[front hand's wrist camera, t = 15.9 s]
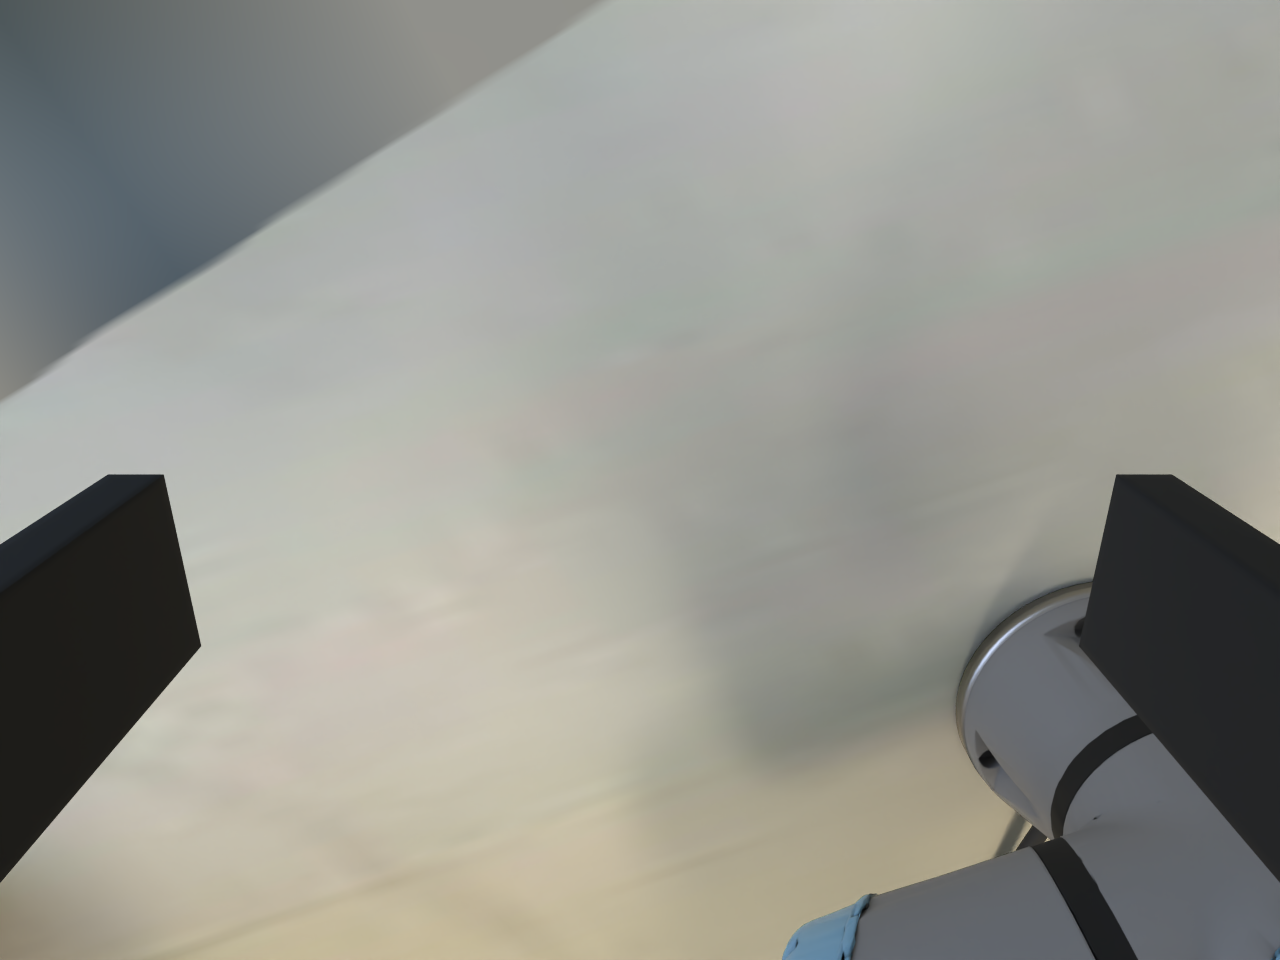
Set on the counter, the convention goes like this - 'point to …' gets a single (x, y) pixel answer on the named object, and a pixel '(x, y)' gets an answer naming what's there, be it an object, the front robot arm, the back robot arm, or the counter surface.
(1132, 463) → the counter surface
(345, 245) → the counter surface
